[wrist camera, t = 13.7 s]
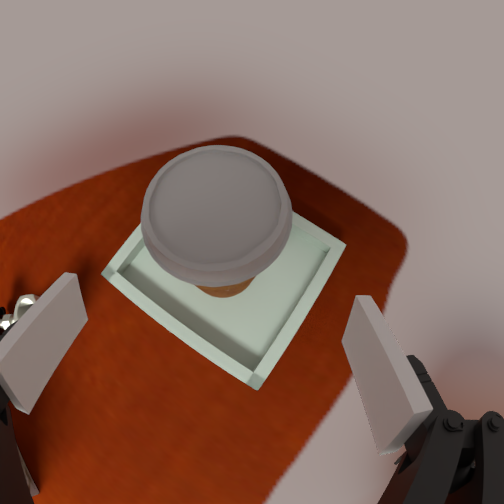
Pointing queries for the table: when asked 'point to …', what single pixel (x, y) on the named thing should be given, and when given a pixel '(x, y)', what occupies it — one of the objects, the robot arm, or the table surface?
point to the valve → (16, 311)
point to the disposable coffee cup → (216, 218)
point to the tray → (233, 301)
